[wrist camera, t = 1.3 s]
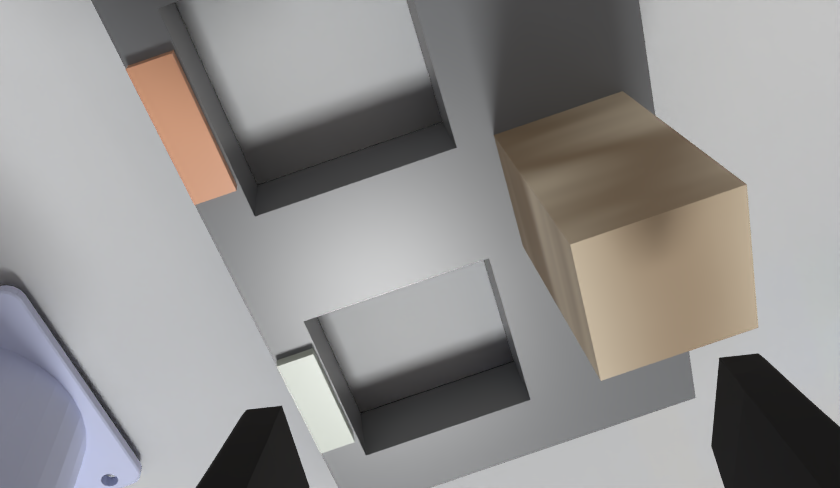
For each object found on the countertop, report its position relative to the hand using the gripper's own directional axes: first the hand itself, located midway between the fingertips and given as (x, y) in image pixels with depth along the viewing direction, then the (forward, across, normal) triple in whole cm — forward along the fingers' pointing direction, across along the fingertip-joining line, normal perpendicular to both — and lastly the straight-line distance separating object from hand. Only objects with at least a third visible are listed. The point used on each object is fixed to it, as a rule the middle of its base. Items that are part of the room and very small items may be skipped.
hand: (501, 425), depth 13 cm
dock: (+10, +1, 0) cm, 11 cm away
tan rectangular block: (+9, -3, 0) cm, 10 cm away
